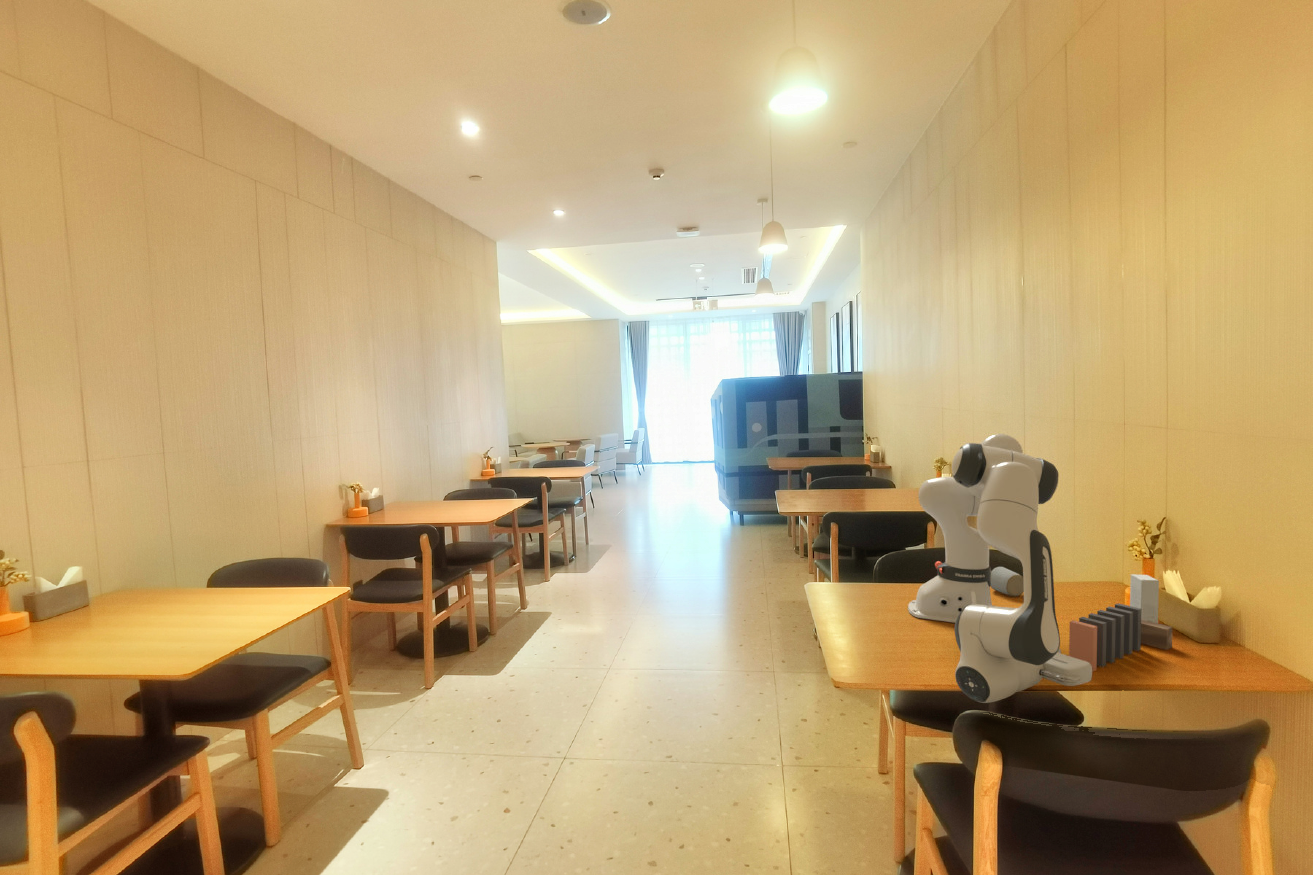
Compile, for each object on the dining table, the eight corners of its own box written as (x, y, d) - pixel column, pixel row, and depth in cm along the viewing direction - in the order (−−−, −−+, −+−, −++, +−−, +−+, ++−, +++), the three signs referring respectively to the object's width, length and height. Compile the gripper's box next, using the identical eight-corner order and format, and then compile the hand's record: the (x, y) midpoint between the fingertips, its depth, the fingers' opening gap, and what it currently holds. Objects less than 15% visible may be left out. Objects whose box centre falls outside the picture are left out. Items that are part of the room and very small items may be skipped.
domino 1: (1092, 671, 145) (1093, 627, 144) (1068, 664, 149) (1069, 621, 148) (1096, 670, 146) (1097, 626, 145) (1072, 662, 150) (1073, 619, 149)
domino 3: (1111, 663, 149) (1112, 620, 148) (1087, 656, 153) (1088, 614, 153) (1114, 661, 150) (1115, 618, 149) (1091, 654, 154) (1091, 613, 154)
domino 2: (1102, 667, 147) (1103, 623, 146) (1078, 660, 151) (1079, 617, 151) (1105, 665, 148) (1106, 622, 147) (1082, 658, 152) (1082, 616, 151)
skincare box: (1158, 625, 172) (1159, 580, 171) (1140, 624, 173) (1141, 580, 172) (1146, 617, 178) (1147, 574, 177) (1128, 616, 179) (1129, 573, 178)
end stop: (1166, 649, 156) (1166, 629, 156) (1110, 635, 166) (1110, 615, 166) (1171, 647, 157) (1172, 626, 157) (1116, 632, 168) (1116, 613, 167)
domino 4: (1120, 658, 151) (1121, 616, 151) (1096, 652, 156) (1097, 610, 155) (1123, 657, 152) (1124, 615, 152) (1100, 650, 156) (1100, 609, 156)
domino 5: (1128, 654, 154) (1129, 613, 153) (1105, 648, 158) (1106, 607, 157) (1132, 653, 154) (1133, 611, 154) (1108, 646, 159) (1109, 606, 158)
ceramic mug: (1007, 598, 197) (1008, 573, 196) (987, 591, 205) (988, 567, 204) (1036, 596, 199) (1037, 571, 199) (1016, 588, 207) (1016, 564, 207)
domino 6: (1137, 651, 156) (1138, 609, 155) (1113, 644, 160) (1114, 604, 159) (1140, 649, 156) (1141, 608, 156) (1117, 643, 161) (1117, 603, 160)
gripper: (1072, 667, 124) (1107, 651, 132) (971, 635, 142) (1008, 622, 149) (1071, 699, 125) (1107, 682, 132) (971, 663, 142) (1008, 649, 149)
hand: (1054, 650), depth 141 cm, fingers closed
